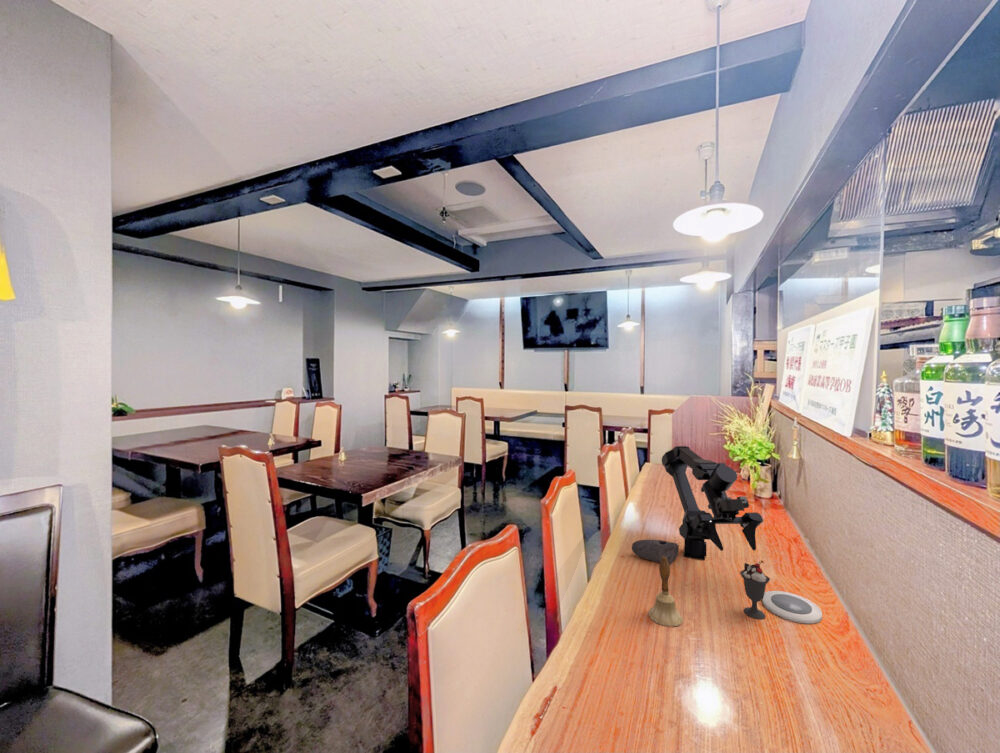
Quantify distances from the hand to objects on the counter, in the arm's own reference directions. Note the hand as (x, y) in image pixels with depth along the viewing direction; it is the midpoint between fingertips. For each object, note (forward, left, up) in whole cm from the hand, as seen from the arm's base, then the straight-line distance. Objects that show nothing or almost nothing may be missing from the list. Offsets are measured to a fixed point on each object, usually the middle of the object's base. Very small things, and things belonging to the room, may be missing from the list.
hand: (738, 550), depth 114 cm
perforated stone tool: (-24, +13, -14) cm, 31 cm away
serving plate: (+12, 0, -14) cm, 18 cm away
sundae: (+3, -7, -14) cm, 16 cm away
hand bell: (-18, -19, -14) cm, 29 cm away
